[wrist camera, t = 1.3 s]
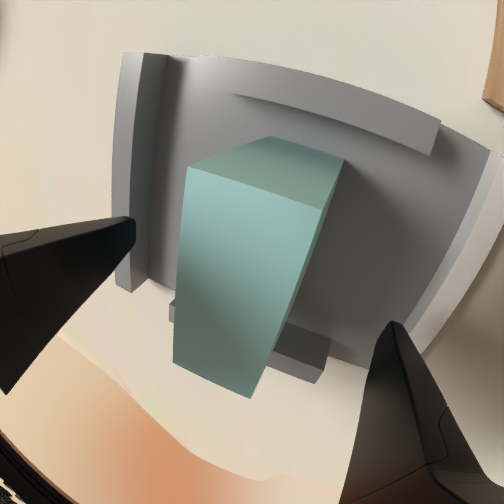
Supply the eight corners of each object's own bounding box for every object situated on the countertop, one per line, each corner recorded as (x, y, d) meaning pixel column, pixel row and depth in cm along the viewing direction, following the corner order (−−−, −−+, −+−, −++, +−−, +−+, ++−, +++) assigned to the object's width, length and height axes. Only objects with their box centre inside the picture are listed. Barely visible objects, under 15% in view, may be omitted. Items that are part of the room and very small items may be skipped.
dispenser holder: (509, 162, 8) (537, 178, 6) (389, 372, 15) (386, 407, 13) (151, 55, 11) (114, 52, 9) (136, 267, 18) (110, 289, 16)
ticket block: (344, 159, 11) (322, 210, 6) (294, 300, 14) (250, 398, 9) (270, 135, 11) (187, 166, 6) (237, 277, 15) (172, 362, 10)
